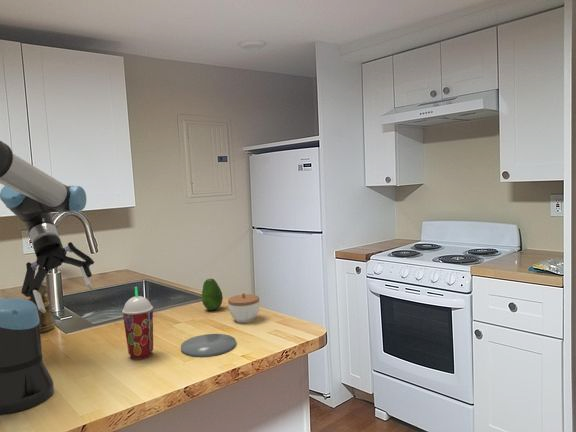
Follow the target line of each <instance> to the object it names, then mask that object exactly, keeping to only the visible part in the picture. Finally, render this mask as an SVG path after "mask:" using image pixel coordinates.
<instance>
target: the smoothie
mask: <svg viewBox="0 0 576 432" xmlns="http://www.w3.org/2000/svg"><path fill="white" fill-rule="evenodd" d="M138 293H139V292H138V286H134V295H135V296H132V297H131V298H129V299H128V300H127V301H126V302H125V304H124V307H123V309H122V310H121V313H122V318H123V324H124V331H125V338H126V339H125V340H126V344H127V345H126V346H127V352H128V354H129V355H130V358H131V359H133V360H143V359H146V358H148V357H150V356H151V355H152V352H153V351H154V306H153V305H152V304H151V302H150V301H149V300H148V299H147V298H146V297H145V296H141V295H139V294H138Z"/></svg>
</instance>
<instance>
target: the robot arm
mask: <svg viewBox="0 0 576 432" xmlns="http://www.w3.org/2000/svg"><path fill="white" fill-rule="evenodd" d="M0 184H1V185H2V188H1V189H0V201H1V202H2V203H3V204H4V205H5V207H6V208H7V209H9V210H10V211H11V212H12V213H13V214H14V215H15V216H16V217H17V218H18V219H19V221H21V222H22V223H23V224H24V225H25V227H26V229H27V232H28V235H29V239H30V242H31V245H32V248H33V251H34V254H35V257H36V260H35V261H34V262H29V261H28V262H26V264H25V265H26V272H25V276H24V280H23V283H22V288H21V294H22V295H24V296H25V297H27V298H28V297H29V296H31V299H32V301H30V300H28V299H26V298H21V297H5V298H0V415H3V414H4V415H5V414H12V413H17V412H20V411H24V410H27V409H30V408H33V407H35V406H37V405H39V404H41V403H43V402H45V401H46V400H48V399H49V398H50V397H51V396H52V395H53V393H54V392H55V388H54V386H55V384H54V381H53V378H52V376H51V374H50V372H49V370H48V368H47V365H46V364H45V362H44V359H43V350H42V349H43V347H42V339H41V337H42V336H41V333H40V324H39V323H40V319H39V316H38V310H37V306H38V309H39V310H40V311H41V312H42V313H45V312H46V310H45V307H44V304H43V301H42V297H41V294H40V293H39V292H38V290H39V288H40V286H41V285H43V282H44V280H45V277H46V276H47V275H48V274H49V271H50V270H53V269H55V268H57V267H60V266H62V265H63V263H64V264H69V265H72V266H74V267H79V269H80V272H81V274H82V277H83V279H84V283H85V285H86V287H88V288H89V289H90V290H91V289H93V288H94V287H93V284H92V282H91V279H90V277H92V276H93V274H92V271H91V270H90V269H91V268H90V267H91V265H94V264H95V261H94V259H92V257H90V256H89V255H88V254H86V253H84V252H82V251H81V250H79V248H77V247H76V246H75V245H74V244H73V242H72V241H70V242H68V243H67V246H63V243H62V241H61V239H60V235H59V233H58V230H57V227H56V225H55V223H54V218H53V217H52V216H53V215H52V213H53V214H55V213H73V212H81V211H83V210H84V209H85V207H86V205H87V194H86V191H85V189H84V188H83V187H82V186H80V185H66V184H64V183H62V182H61V181H59V180H57V179H56V178H54V177H53V176H51V175H49V174H48V173H46V172H45V171H43V170H41V169H39V168H38V167H36V166H35V165H33V164H31V163H30V162H28V161H26V160H24V159H23V158H21V157H20V156H18V155H16V154H15V153H14V152H13V150H12V149H11V147H10V145H8V144H7V143H5V142H4V141H2V140H0ZM68 252H69V253H73V254H74V255H76V256H77V257H78V258H80V259H82V260H83V261H82V260H80V259H77V258H73V257H71V256H67V253H68ZM36 271H37V272H36ZM29 298H30V297H29ZM34 303H35V304H37V306H36V305H35V304H34Z"/></svg>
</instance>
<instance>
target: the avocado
mask: <svg viewBox="0 0 576 432" xmlns="http://www.w3.org/2000/svg"><path fill="white" fill-rule="evenodd" d="M223 298H224V297H223V293H222V289H221V288H220V286H219V283H218V282H217V281H216V280H215V279H214V278H207V279H206V280H205V281H204V282H203V285H202V291H201V302H202V305H203V306H204V307H205V308H206V309H207V310H209V311H215V310H217V309H219V308H220V307H221V306H222V303H223Z"/></svg>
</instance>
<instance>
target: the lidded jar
mask: <svg viewBox="0 0 576 432" xmlns="http://www.w3.org/2000/svg"><path fill="white" fill-rule="evenodd" d="M227 302H228V311H229V314H230V316H231V317H232V318H233V320H235V322H236V323H239V324H246V323H251V322H253V321H254V320H255V318H256V317H257V315H258V313H259V310H260V297H259V295H256V294H249V293H248V294H246V293H243V292H242V293H241V294H236V295H233V296H231V297H229V298H228V299H227Z"/></svg>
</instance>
